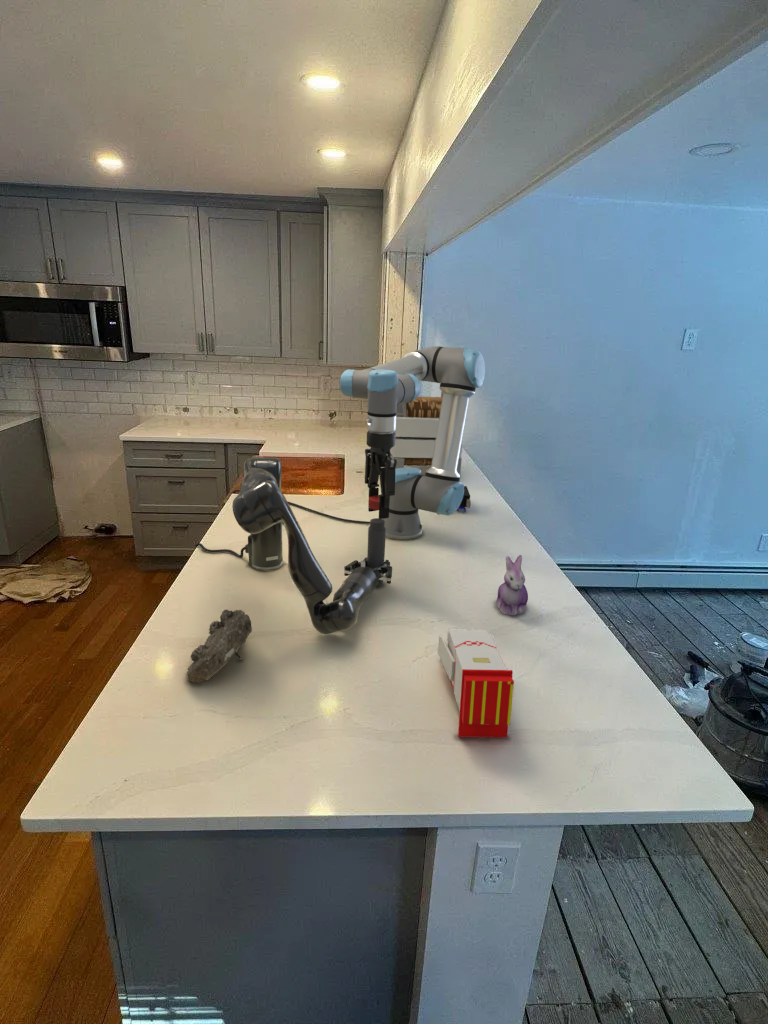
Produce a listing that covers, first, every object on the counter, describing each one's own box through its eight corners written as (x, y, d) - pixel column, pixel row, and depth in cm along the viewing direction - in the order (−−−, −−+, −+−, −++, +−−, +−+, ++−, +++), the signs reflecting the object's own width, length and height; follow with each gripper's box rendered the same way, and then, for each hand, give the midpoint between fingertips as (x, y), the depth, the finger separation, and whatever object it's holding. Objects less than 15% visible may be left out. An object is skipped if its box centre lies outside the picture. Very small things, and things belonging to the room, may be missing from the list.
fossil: (206, 612, 136) (251, 583, 131) (234, 639, 138) (279, 612, 133) (166, 676, 116) (217, 644, 111) (199, 706, 119) (250, 677, 114)
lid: (364, 504, 156) (365, 496, 155) (382, 502, 159) (383, 494, 158) (374, 511, 152) (374, 503, 151) (392, 508, 154) (392, 500, 153)
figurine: (510, 620, 147) (517, 567, 142) (486, 602, 155) (492, 552, 150) (538, 612, 151) (545, 561, 146) (513, 595, 159) (519, 546, 154)
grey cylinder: (384, 588, 161) (387, 523, 154) (366, 588, 160) (369, 523, 154) (382, 580, 165) (385, 517, 159) (365, 580, 165) (367, 517, 158)
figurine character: (470, 516, 223) (465, 500, 237) (473, 499, 220) (467, 484, 233) (453, 516, 223) (449, 500, 236) (455, 498, 220) (451, 483, 233)
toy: (488, 613, 130) (523, 677, 101) (484, 667, 133) (517, 744, 104) (435, 612, 130) (455, 676, 101) (432, 666, 133) (451, 743, 103)
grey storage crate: (382, 463, 289) (386, 382, 275) (445, 464, 293) (451, 384, 279) (390, 482, 257) (394, 392, 243) (460, 483, 261) (468, 394, 247)
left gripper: (385, 578, 145) (403, 553, 160) (333, 568, 148) (355, 545, 164) (383, 604, 147) (401, 577, 162) (332, 594, 151) (354, 568, 166)
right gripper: (352, 425, 154) (351, 505, 162) (385, 440, 138) (382, 528, 147) (377, 423, 157) (374, 502, 165) (411, 437, 142) (407, 523, 150)
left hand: (378, 561), depth 163 cm, fingers closed on grey cylinder, 5 cm apart
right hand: (378, 514), depth 156 cm, fingers closed on lid, 5 cm apart
